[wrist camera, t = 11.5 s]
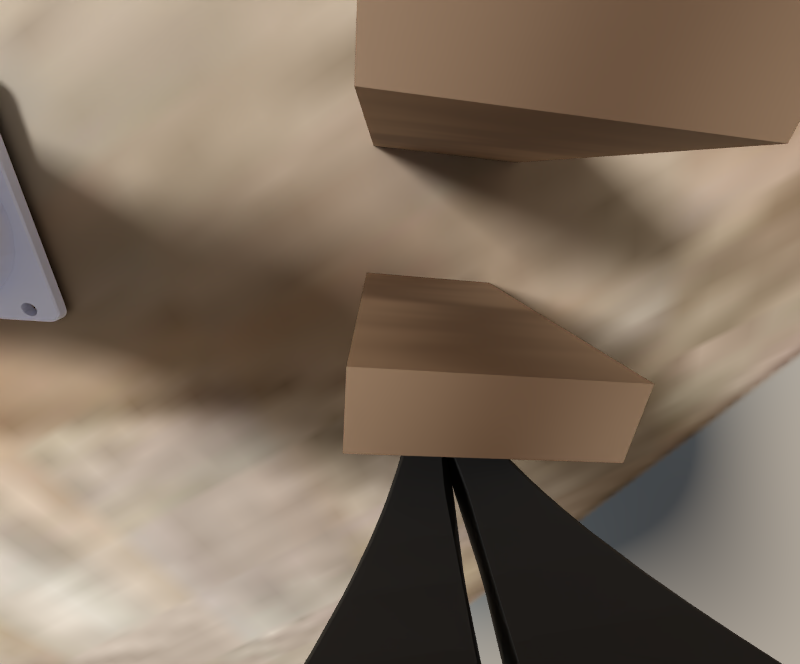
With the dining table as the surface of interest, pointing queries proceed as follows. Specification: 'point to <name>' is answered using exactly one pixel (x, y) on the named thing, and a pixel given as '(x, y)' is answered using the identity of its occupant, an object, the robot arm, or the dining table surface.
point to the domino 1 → (480, 379)
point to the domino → (577, 75)
